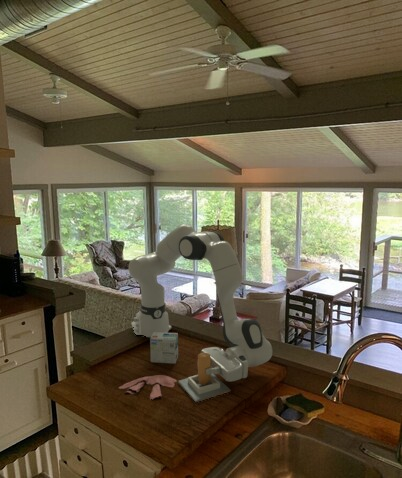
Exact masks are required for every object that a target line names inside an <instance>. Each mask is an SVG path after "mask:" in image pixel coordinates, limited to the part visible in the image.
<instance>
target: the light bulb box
mask: <svg viewBox="0 0 402 478" xmlns="http://www.w3.org/2000/svg"><path fill="white" fill-rule="evenodd" d="M149 341H150V342H149V344H150V345H149V347H150V349H149V350H150V352H149V353H150V363H157V364H158V363H160V364H173V365H174V364H176V363H177V361H178V358H179V334H178V332H168V333H162V332H154V333H153V334H152V336H151V337H149Z"/></svg>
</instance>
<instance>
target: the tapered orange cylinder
mask: <svg viewBox="0 0 402 478" xmlns="http://www.w3.org/2000/svg"><path fill="white" fill-rule="evenodd" d="M210 359H211V356H210V354H208V353H201V352H200V353H198V354H197V362H198V365H197V375H198V383H199V384H202V385H206V384H209V383H210V374H206V373H205V368H208V367H210V368H211V366H210Z"/></svg>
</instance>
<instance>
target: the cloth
mask: <svg viewBox="0 0 402 478" xmlns="http://www.w3.org/2000/svg"><path fill="white" fill-rule="evenodd" d="M175 383H178V381H177V379H175V378H173V377H171V376H169V375H168V376H167V375H165V374H158V375H157V374H156V375H155V374H154V375H150V376H144V377H143V376H142V377H139V378H137V379H133V380H132V381H128V382H126V383H124V384H123V385H120V386H119V387H118V389H124V390H125V389H126V390H127V391H124V392H123V395H125V394H127V393H129V394H131V395H137V394H138V393H139V392H140V391H141V390H142V388H143V387H145V384H146V385H153V387H152V389H151V392H150V394H149V400H151V399H152V400H154V399H155V398H156V397H159V396H161V398H160V399H162V398H163V395H162V390H161V387H167V388H174V387H175ZM160 385H161V386H160ZM156 399H157V398H156Z"/></svg>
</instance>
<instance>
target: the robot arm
mask: <svg viewBox="0 0 402 478" xmlns="http://www.w3.org/2000/svg"><path fill="white" fill-rule="evenodd" d="M180 257H182V258H183V259H185V260H188V261H202V260H204V259H205V260H207V262H209V264H210V267H211V270H212V273H213V276H214V279H215V280H214V282H215V285H216V295H217V302H218V306H219V310H220V314H221V315H220V316H221V319H222V336H223V339H224V340H225V342H226V343H227V345H229V346H231V347H227V348H226V349H225V350H224V349H223V348H221V347H218V346H210V347H206V348H202V349H201V350H200V353H208V354H210V356H211V359H210V367H208V368H205V373H206V374H214V375H219V376H221V377H222V378H223V379H224V380H225V381H226V382H230V383H231V382H235V381H238V380H241V379H246V378H247V377H248V373H249V371H248V370H249V367H250V368H253V367H257V366H260V365H263V364H264V363H267V362H268V361H270V360H271V358H272V356H273V346H272V344H271V342H270V341H269V340H268V339H267V338H266V337H265V336H264V334H263V331H262V327H261V324H260V323H259V321H257V320H256V319H254V318H252V317H251V318H243V319H239V317H238V315H237V309H236V306H235V302H234V295H235V293H236V291H237V290H238V288H239V287H241V284H242V282H243V279H244V278H243V271H242V268H241V265H240V262H239V259H238V256H237V254H236V252H235V250H234V249H233V246H232V245H231V244H230V242H228V241H226V240H225V239H224V236H223V235H222V234H221V233H220V232H218V231H214V230H206V231H205V230H204V231H200V232H197V231H196V229H195V228H194V227H193V226H192V225H190V224H187V223H186V224H184V223H183V224H180V225H178V226H177V227H176V228H174V229H173V230H171V231H170V232H169V233H168V234H166V236H165V237H163V238H162V240H160V241H159V242H158V243H157V246H156V251H153V252H150V253H146V254H142V255H139V256H136V257H134V258H132V259H131V260H130V261H129V263H128V272H129V275H130V276H131V278H133V279H134V280H136V282H137V283H138V285H139V288H140V295H141V297H140V298H141V302H140V306H139V311H138V312H137V313H136V314H135V317H133V321H131V327H132V331H133V330H134V331H133V334H134V333H135V334H136V335H144V336H146V338H151V336H152V334H153V333H154V332H162V333H169V331H170V330H171V329H172V325H170V322H169V321H170V320H169V313H168V312H167V311H166V309H167V305H166V302H165V296H166V295H165V288H164V285H162V284H161V283H159V282H158V280H157V279H158V278H157V277H158V276H162V275H163V274H166V273H168V272H170V271H172V270H173V269H174V268H175V266H176V261H177V260H178V259H179V258H180ZM133 327H134V328H133ZM135 334H134V335H135ZM136 335H135V336H136ZM144 336H143V337H144ZM196 365H197V366H198V361H197V363H196Z"/></svg>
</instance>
